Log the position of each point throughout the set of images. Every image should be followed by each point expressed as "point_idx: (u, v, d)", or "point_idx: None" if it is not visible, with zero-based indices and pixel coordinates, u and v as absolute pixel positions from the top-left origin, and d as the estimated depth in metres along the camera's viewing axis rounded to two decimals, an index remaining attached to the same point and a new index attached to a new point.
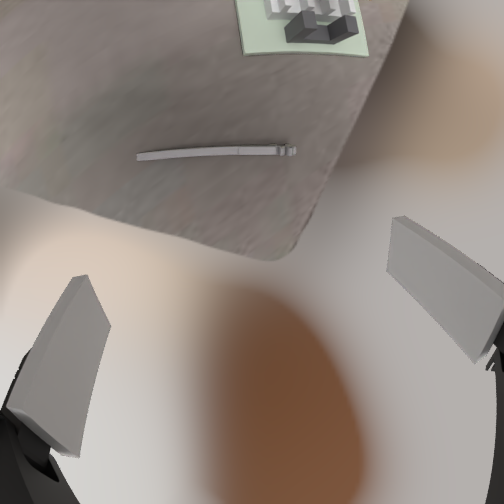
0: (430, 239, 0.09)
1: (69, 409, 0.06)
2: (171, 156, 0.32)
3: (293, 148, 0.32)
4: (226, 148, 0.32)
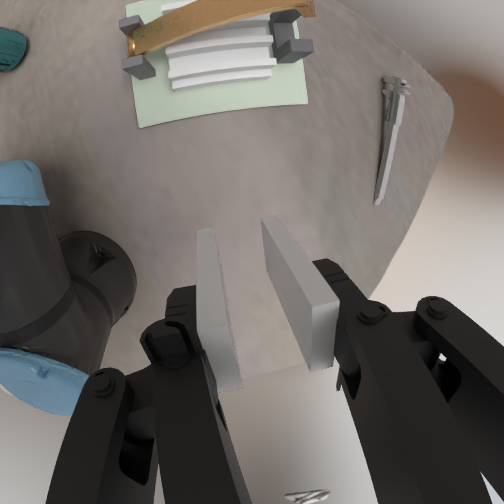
0: (279, 238, 0.10)
1: (233, 338, 0.08)
2: (387, 177, 0.37)
3: (402, 81, 0.28)
4: (393, 133, 0.33)
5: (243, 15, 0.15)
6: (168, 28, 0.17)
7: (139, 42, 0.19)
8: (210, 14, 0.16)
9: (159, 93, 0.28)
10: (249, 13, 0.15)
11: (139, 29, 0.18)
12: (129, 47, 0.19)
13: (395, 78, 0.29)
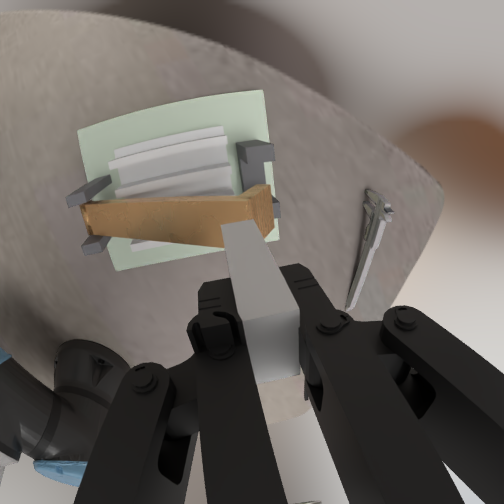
0: (250, 243, 0.10)
1: None
2: (359, 291, 0.41)
3: (385, 206, 0.31)
4: (368, 256, 0.36)
5: (188, 242, 0.18)
6: (117, 223, 0.21)
7: (93, 222, 0.22)
8: (155, 229, 0.19)
9: (128, 239, 0.31)
10: None
11: (89, 207, 0.21)
12: (85, 223, 0.23)
13: (379, 199, 0.32)
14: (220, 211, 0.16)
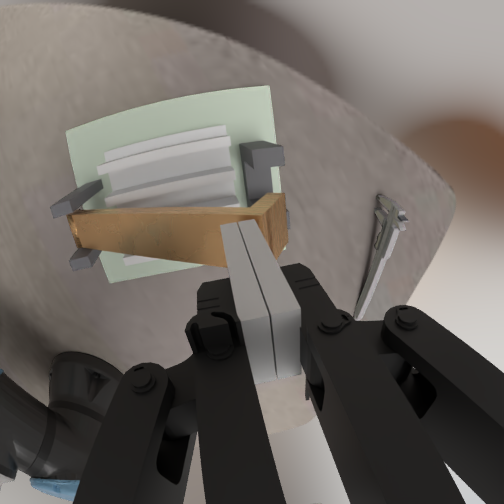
0: (251, 242, 0.10)
1: None
2: (368, 302, 0.38)
3: (399, 213, 0.29)
4: (379, 265, 0.34)
5: (189, 260, 0.16)
6: (107, 236, 0.18)
7: (82, 234, 0.20)
8: (150, 244, 0.16)
9: None
10: None
11: (77, 217, 0.19)
12: (73, 235, 0.20)
13: (392, 205, 0.30)
14: None
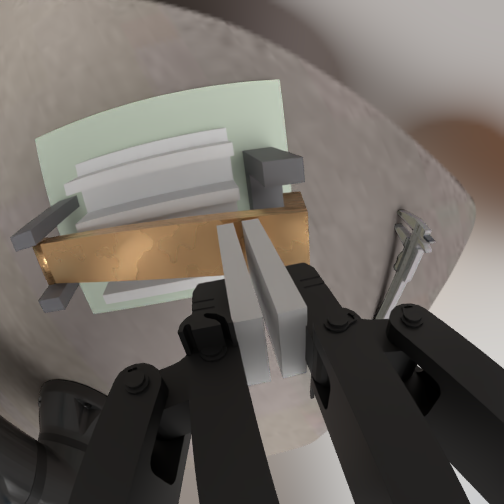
0: (255, 242, 0.10)
1: None
2: None
3: (425, 233, 0.24)
4: (399, 289, 0.29)
5: (214, 273, 0.15)
6: (96, 264, 0.15)
7: (56, 267, 0.15)
8: (162, 263, 0.14)
9: None
10: None
11: (49, 246, 0.14)
12: (43, 269, 0.15)
13: (417, 223, 0.25)
14: (270, 227, 0.13)
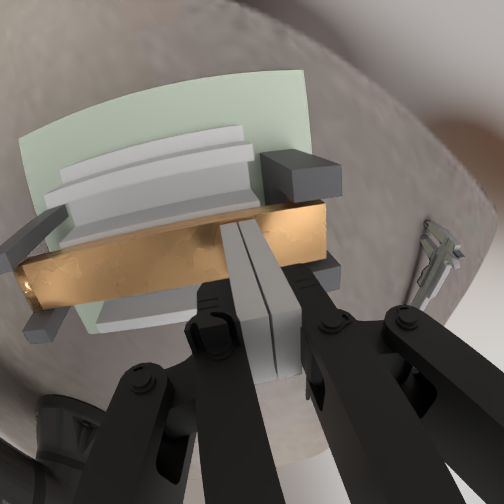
0: (251, 242, 0.10)
1: None
2: None
3: (455, 248, 0.21)
4: (422, 305, 0.26)
5: None
6: (95, 280, 0.13)
7: (43, 290, 0.12)
8: (176, 270, 0.13)
9: None
10: None
11: (34, 266, 0.12)
12: (27, 295, 0.12)
13: (446, 237, 0.22)
14: (292, 221, 0.13)
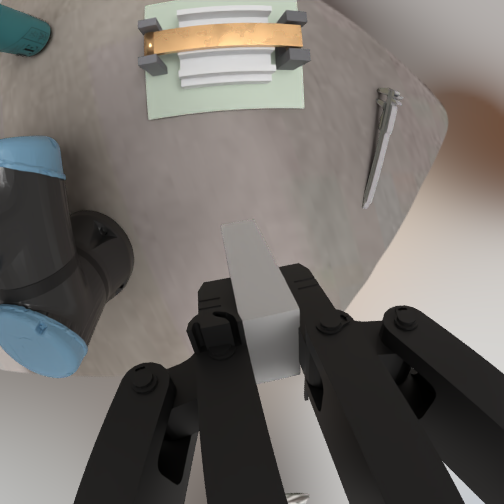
0: (250, 242, 0.10)
1: None
2: (376, 182, 0.40)
3: (395, 92, 0.31)
4: (383, 141, 0.36)
5: (259, 45, 0.24)
6: (194, 38, 0.23)
7: (160, 43, 0.23)
8: (235, 37, 0.24)
9: (169, 89, 0.31)
10: (264, 45, 0.24)
11: (161, 32, 0.22)
12: (149, 45, 0.22)
13: (389, 89, 0.32)
14: (286, 28, 0.24)
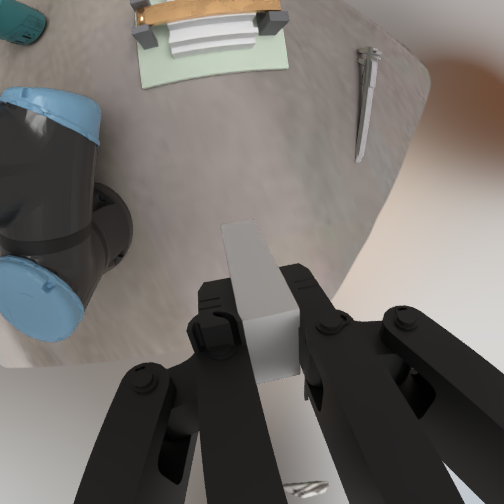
0: (250, 243, 0.10)
1: None
2: (366, 135, 0.40)
3: (373, 49, 0.30)
4: (368, 95, 0.36)
5: (241, 11, 0.24)
6: (182, 9, 0.23)
7: (151, 15, 0.22)
8: (219, 6, 0.23)
9: (160, 60, 0.30)
10: (246, 10, 0.24)
11: (151, 6, 0.21)
12: (140, 18, 0.22)
13: (368, 47, 0.31)
14: None
